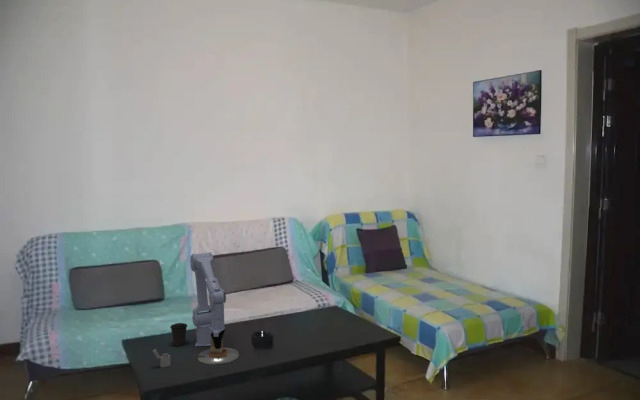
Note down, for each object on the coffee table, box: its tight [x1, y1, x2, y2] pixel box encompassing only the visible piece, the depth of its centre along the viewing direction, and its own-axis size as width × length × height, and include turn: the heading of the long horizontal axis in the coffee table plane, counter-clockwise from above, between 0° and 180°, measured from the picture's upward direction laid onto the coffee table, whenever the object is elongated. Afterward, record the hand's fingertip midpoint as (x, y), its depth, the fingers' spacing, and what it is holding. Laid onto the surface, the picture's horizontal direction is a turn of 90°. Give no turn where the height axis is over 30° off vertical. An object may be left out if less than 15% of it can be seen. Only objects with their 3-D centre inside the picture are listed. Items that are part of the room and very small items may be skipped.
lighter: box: [152, 348, 172, 368], centre depth 220 cm, size 7×2×8 cm, turn 117°
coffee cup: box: [170, 322, 188, 347], centre depth 246 cm, size 8×8×10 cm
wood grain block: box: [210, 336, 224, 353], centre depth 230 cm, size 3×5×7 cm, turn 94°
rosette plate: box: [197, 347, 240, 366], centre depth 230 cm, size 18×18×2 cm
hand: (218, 347), depth 230 cm, fingers open, 3 cm apart
